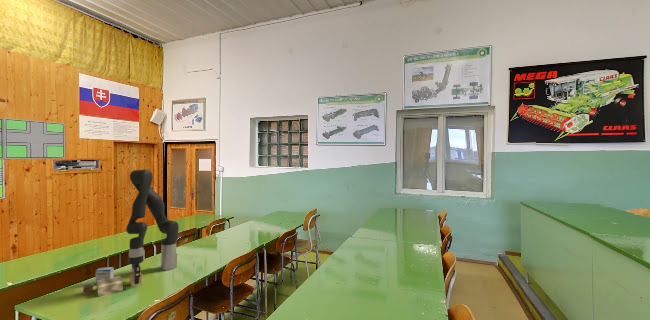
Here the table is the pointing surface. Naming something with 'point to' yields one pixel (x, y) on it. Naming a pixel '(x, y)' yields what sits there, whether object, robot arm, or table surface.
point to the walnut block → (87, 289)
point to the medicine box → (104, 273)
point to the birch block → (109, 285)
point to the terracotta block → (134, 279)
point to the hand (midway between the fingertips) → (135, 281)
